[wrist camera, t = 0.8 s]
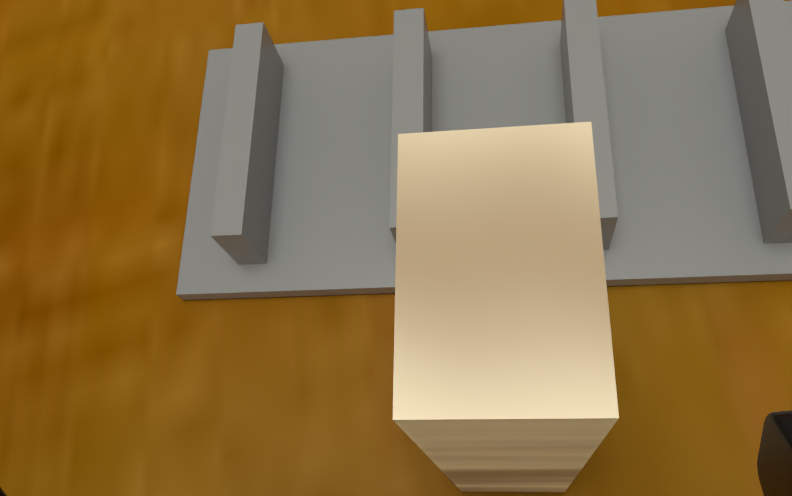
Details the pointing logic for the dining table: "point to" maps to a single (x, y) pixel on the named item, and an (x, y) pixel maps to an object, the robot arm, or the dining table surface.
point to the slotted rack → (492, 108)
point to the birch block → (502, 305)
